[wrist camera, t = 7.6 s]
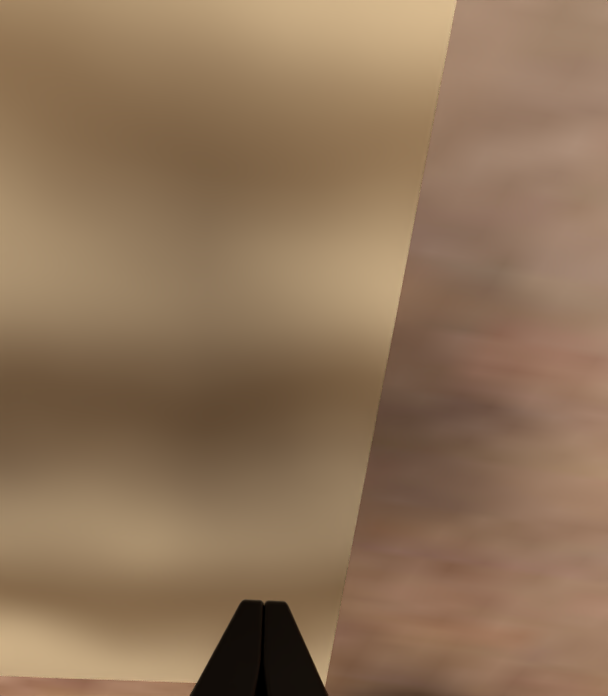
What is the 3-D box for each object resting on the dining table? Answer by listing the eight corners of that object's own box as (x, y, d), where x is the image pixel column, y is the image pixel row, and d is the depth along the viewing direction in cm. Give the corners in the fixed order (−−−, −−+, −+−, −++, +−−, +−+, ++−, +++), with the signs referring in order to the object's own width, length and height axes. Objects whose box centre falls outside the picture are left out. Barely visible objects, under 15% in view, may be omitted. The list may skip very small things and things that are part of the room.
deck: (316, 588, 20) (324, 687, 16) (40, 574, 19) (-20, 675, 15) (409, 26, 13) (462, -35, 9) (-19, -40, 12) (-159, -138, 8)
